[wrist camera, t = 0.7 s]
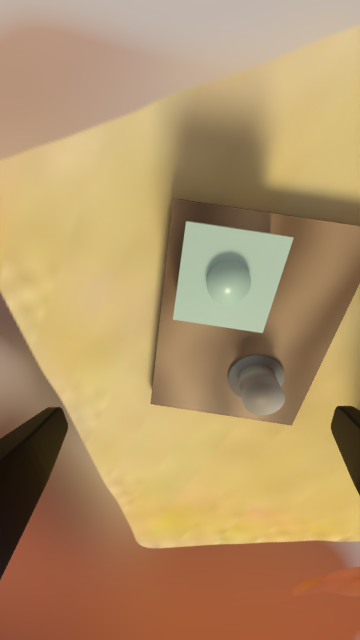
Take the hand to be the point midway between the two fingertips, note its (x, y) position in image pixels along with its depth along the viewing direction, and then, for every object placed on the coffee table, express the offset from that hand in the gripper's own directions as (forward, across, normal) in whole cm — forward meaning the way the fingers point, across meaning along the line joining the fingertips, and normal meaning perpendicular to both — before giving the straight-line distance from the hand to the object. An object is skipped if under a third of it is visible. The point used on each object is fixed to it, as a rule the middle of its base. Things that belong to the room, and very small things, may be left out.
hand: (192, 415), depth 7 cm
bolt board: (+12, -4, +3) cm, 13 cm away
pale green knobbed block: (+11, -2, -3) cm, 12 cm away
